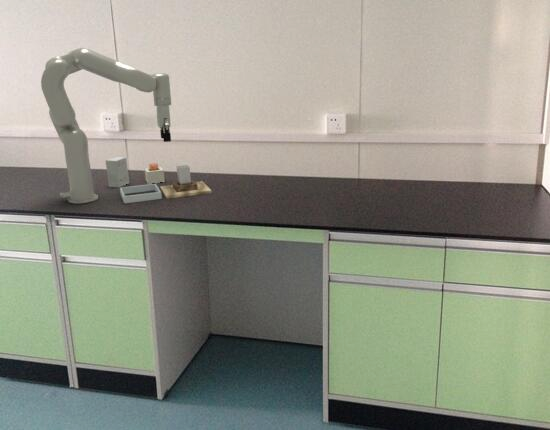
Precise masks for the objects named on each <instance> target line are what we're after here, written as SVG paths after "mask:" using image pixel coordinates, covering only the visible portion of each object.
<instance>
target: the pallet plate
mask: <svg viewBox="0 0 550 430" xmlns="http://www.w3.org/2000/svg"><path fill="white" fill-rule="evenodd" d="M159 190H160V191H161V193H162V194H163V195H164V197H165V199H168V200H169V199H175V198H176V199H177V198H183V197H191V196H198V195H207V194H212V189H211V188H210V187H209V186H208V185H206V184H205V182H204V181H202V180H201V181H195V180H194V179H193V178H191V184H188V185H178V180H177V181H172V184H168V185H167V184H166V185H159Z"/></svg>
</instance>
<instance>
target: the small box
mask: <svg viewBox="0 0 550 430" xmlns="http://www.w3.org/2000/svg"><path fill="white" fill-rule="evenodd" d="M104 161H105V168H106V173H107V181H108V187H109V188H119V189H120V188H122V187H125V186H127V185H129V184H130V178H129V170H128V168H129V167H128V161H127V157H126V156H125V157H124V156H115V157H111V158H108V159H105V160H104ZM126 184H127V185H126Z"/></svg>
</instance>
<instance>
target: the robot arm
mask: <svg viewBox="0 0 550 430" xmlns="http://www.w3.org/2000/svg"><path fill="white" fill-rule="evenodd" d="M44 68H45V69H44V71H43V72H42V75H41V79H40V85H41V86H40V87H41V91H42V94H43V96H44V100H45V102H46V103H47V106H48V108H49V111H48V113H49V117H50V120H51V122H52V124H53V127H54V129H55V132H56V133H57V135H58V138H59V140H60V142H61V143H62V144H63V148H64V155H65V156H64V157H65V158H64V159H65V165H66V171H67V177H68V183H69V191H67V192H60V193H59V197H60V198H62V199H66V198H67V200H68V201H67V202H68V203H70V204H76V205H77V204H79V205H80V204H87V203H91V202H95V201H98V199H99V195H98V194H96V193H95V190H94V183H93V176H92V169H91V162H90V155H89V142H88V137H87V134H85V132H84V131H83V129H81V128H80V125H79V124H78V121H77V119H76V110H75V109H74V107H73V105H72V103H71V102H70V99H69V96H68V94H67V92H66V89H65V80H66V79H67V78H68V77H69V75H72V74H75V73H77V72H80V71H81V70H84V71H87V72H88V73H92V74H94V75H97V76H99V77H101V78H104V79H107V80H109V81H112V82H116V83H119V84H122V85H127V86H129V87H132V88H134V89H136V90H138V91H140V92H144V93H146V94H147V93H153V102H154V103H153V104H154V105H153V106H154V107H156V120H157V121H156V123H157V127H158V128H159V129H160V131H159V132H160V138H161V139H163V142H164V143H166V142H168V143H170V142H172V138H171V137H172V136H171V130H170V128H171V113H170V106H172V97H171V96H172V95H171V83H170V82H171V81H170V76H169V74H167V73H163V72H162V73H154V74H149V73H146V72H143V71H142V70H139V69H137V68H134V67H132V66H129V65H127V64H125V63H123V62H120V61H118V60H115V59H113V58H110V57H108V56H106V55H104V54H101V53H99V52H96V51H94V50H91V49H89V48H84V47H79V48H76V49H74V50H71V51H68V52H66V53H63V54H60V55H57V56H54V57H52V58H49V60H47V62H46V63H45V67H44Z"/></svg>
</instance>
